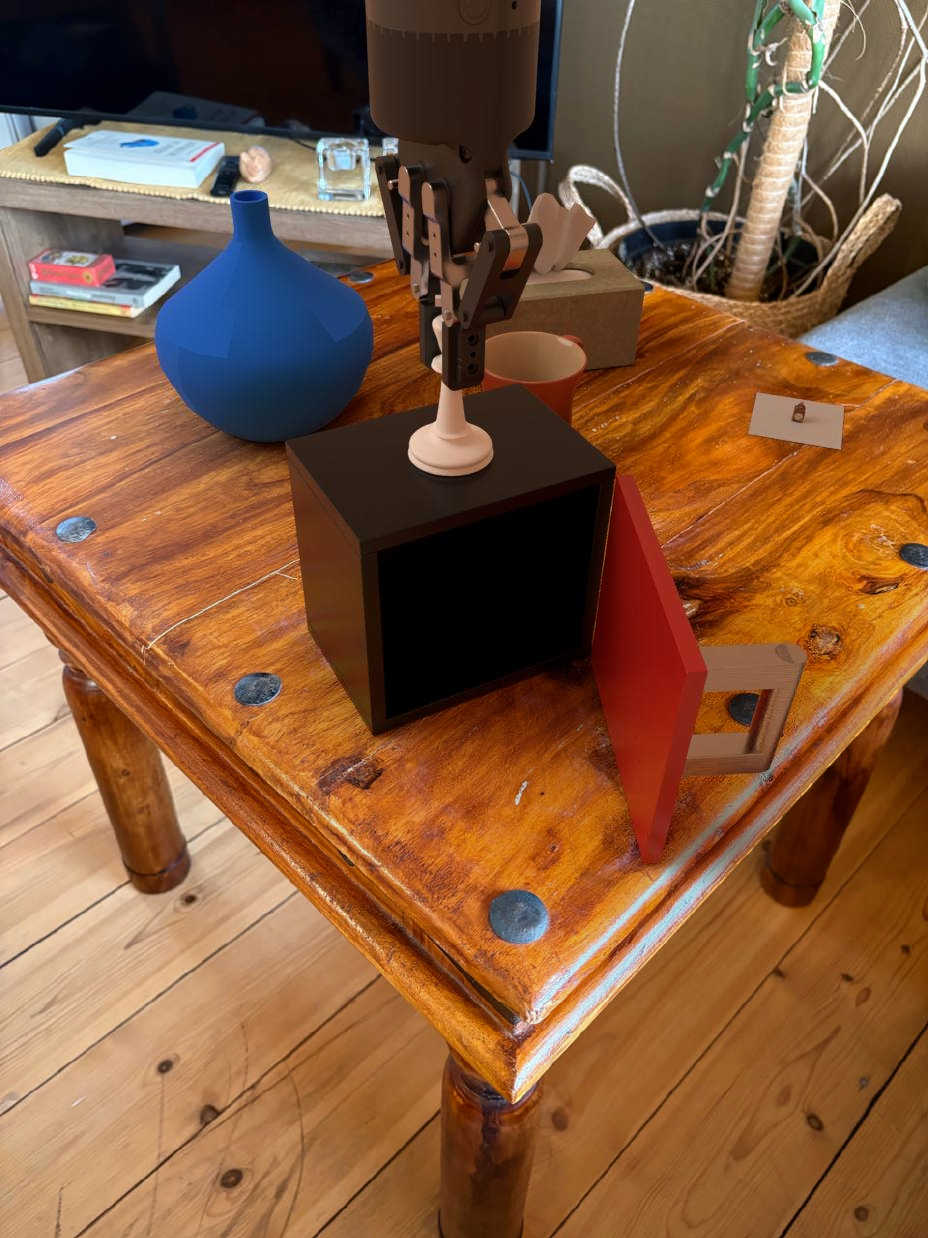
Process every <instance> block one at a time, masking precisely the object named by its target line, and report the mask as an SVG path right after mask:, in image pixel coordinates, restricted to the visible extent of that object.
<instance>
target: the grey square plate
mask: <svg viewBox="0 0 928 1238" xmlns="http://www.w3.org/2000/svg"><path fill="white" fill-rule="evenodd" d="M844 413H845V406H844V405H837V404H833V403H826V402H820V401H813V400H808V399H801V398H795V397H789V396H783V395H775V394H769V393H764V392H758V391H756V395H755V399H754V405H753V410H752V414H751V419H750V423H749V427H748V428H749V429H748V433H747V435H752V436H758V437H764V438H770V439H775V440H781V441H788V442H793V443H798V444H804V445H811V446H816V447H823V448H827V449H828V448H829V449H833V450H840V451H842V444H843V443H842V442H843V431H844V430H843V428H844Z"/></svg>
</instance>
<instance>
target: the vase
mask: <svg viewBox="0 0 928 1238" xmlns="http://www.w3.org/2000/svg"><path fill="white" fill-rule="evenodd" d="M229 203H230V211H231V217H232V218H231V219H232V225H233V231H232V238H231V239H230V241H229V242H228V244H227V246H226V248H225V249H224V250H223V251H222V252H221V253H219V254H218V255H217V256H216V257H215V258H214V259H213V260H212V261H211V262H210V263H208V264H207V266H206V267H204V268H203V269H202V270H201V271H200V272H199V273H198V274H197V275H196V276H194V278H192V279H191V280H190V281H189V282H188V283H187V284H185V285H184V286H182V287H181V289H179V290H178V291H177V292H176V293H174V294H172V295H171V297H169V299H167V300H166V301H165V302H164V303H163V305H162V306H161V308H160V310H159V312H158V313H157V317H156V322H155V328H154V346H155V350H156V354H157V358H158V363H159V367H160V368H161V370H162V372H163V373H164V375H165V377H166V378H167V380H168V381H169V383H170V384H171V386H172V387H173V388H174V390H175V391H176V392H177V394H178V396H179V397H180V398H181V400H182V401H183V403H184V404H185V406H186V407H187V408H188V409H190V410H191V411H193V412H194V413H195V414H196V415H198V417H201V419H203V420H204V421H205V422H207V423H208V424H209V425H211V426H212V427H213V428H215V429H216V430H219V431H221V432H223V433H227V434H229V435H232V436H234V437H236V438H238V439H241V440H246V441H251V442H257V443H280V442H285V441H286V440H290V439H294V438H298V437H302V436H307V435H311V434H315V433H317V432H318V431H319V430H320V429H322V428H323V427H325V426H327V425H328V424H329V423H331V422H332V421H334V420H336V419H337V418H338V417H340V415H341V414H342V412H343V411H344V410H345V408H346V407H347V406H348V405H349V404H350V402H351V401H352V400H353V399H354V397H355V396H356V395H357V393H358V392H360V389H361V387H362V384H363V381H364V379H365V376H366V373H367V372H368V369H369V366H370V363H371V360H372V356H373V352H374V348H375V342H374V341H375V339H374V323H373V320H372V317H371V314H370V312H369V309H368V307H367V304H366V302H365V300H364V298H363V296H362V295H360V294H359V293H358V292H357V291H356V290H355V289H354V288H353V287H352V286H350V285H348V284H346V283H345V282H344V281H342V280H340V279H339V278H336V277H334V276H333V275H331V274H330V273H328V272H326V271H324V270H323V269H322V268H320V267H318V266H316V265H314V264H313V263H311V262H310V261H308V259H305V258H304V257H303V256H301V255H300V254H299V253H297V252H295V251H293V250H292V249H291V248H289V247H288V246H286V245H284V244H283V242H282V241H281V240H280V239H279V238H278V237H277V236H276V235H275V234H274V230H273V228H272V222H271V213H270V204H269V196H268V193H267V192H265V191H263V190H257V189H243V190H238V191H235V192H233V193H231V194H230V195H229Z"/></svg>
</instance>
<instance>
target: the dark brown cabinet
mask: <svg viewBox="0 0 928 1238" xmlns="http://www.w3.org/2000/svg"><path fill="white" fill-rule="evenodd" d="M462 400H463V408H464V415H465V421H466V422H468V423H469V424H472V425H475V426H477V427H479V428H481V429H482V430H484V431H485V432H486V433H487V434H488V435H489V436H490V438H491V440H492V448H493V458H492V460H491V461H490V463H489V464H488V465H487V466H486V467H484V468H483V469H481V470H479V471H477V472H474V473H471V474H467V475H461V476H441V475H435V474H431V473H428V472H425V471H423V470H421V469H419V468H418V467H416V466H415V465H414V464H413V463H412V462H411V460H410V459H409V456H408V449H409V441H410V438H411V437H412V435H413V434H414V433H415V432H416V431H417V430H419V429H420V428H422V427H424V426H426V425H429V424H432V423H434V422H435V421H436V420H437V414H438V407H439V402H435V403H431V404H427V405H424V406H420V407H416V408H411V409H407V410H404V411H400V412H395V413H392V414H387V415H383V416H379V417H374V418H372V419H366V420H363V421H359V422H356V423H355V422H354V423H351V424H347V425H344V426H339V427H335V428H332V429H327V430H323V431H318V432H314V433H311V434H309V435H307V436H302V437H298V438H294V439H290V440H286V441H284V442H285V451H286V455H287V456H286V458H287V467H288V474H289V483H290V493H291V500H292V508H293V509H292V510H293V517H294V526H295V532H296V533H295V534H296V541H297V549H298V557H299V558H298V559H299V566H300V574H301V575H300V576H301V583H302V592H303V600H304V608H305V616H306V624H307V631H309V632H308V633H309V634H310V636H311V637H312V639H313V641H314V642H315V644H316V645H317V647H318V648H319V650H320V652H321V654H322V655H323V657H324V658H325V660H326V662H327V663H328V666H329V667H330V668H331V670H332V672H333V673H334V676H336V678H337V680H338V681H339V683H340V685H341V687H342V688H343V689H344V691H345V693H346V694H347V696H348V697H349V699H350V701H351V703H352V704H353V706H354V708H355V710H356V711H357V712H358V714H359V717H360V718H361V719H362V720H363V722H364V725H366V728H367V729H368V731H369V733H370V734H371V736H373V737H375V736H378V735H381V734H383V733H386V732H389V731H392V730H394V729H397V728H400V727H402V726H405V725H407V724H410V723H413V722H416V721H418V720H421V719H423V718H427V717H430V716H432V715H435V714H437V713H440V712H442V711H445V710H448V709H450V708H452V707H456V706H459V705H461V704H464V703H467V702H469V701H471V700H475V699H477V698H479V697H482V696H485V695H487V694H491V693H493V692H496V691H498V690H501V689H504V688H507V687H509V686H511V685H514V684H517V683H519V682H522V681H525V680H528V679H530V678H533V677H536V676H539V675H541V674H544V673H546V672H549V671H552V670H555V669H557V668H559V667H560V668H561V667H562V666H565V665H568V664H570V663H572V662H573V663H574V662H576V661H579V660H581V659H584V658H586V657H589V656H591V653H592V646H593V639H594V632H595V625H596V617H597V610H598V603H599V596H600V589H601V581H602V574H603V567H604V560H605V553H606V545H607V538H608V531H609V524H610V517H611V509H612V502H613V495H614V488H615V481H616V475H617V468H618V465H617V464H616V463H615V462H613V461H612V460H611V459H610V458H609V457H608V456H607V455H605V454H604V453H603V452H602V451H601V450H600V449H598V447H596V446H595V445H594V444H592V443H591V442H590V441H589V440H588V439H587V438H585V437H584V436H583V435H582V434H581V433H580V432H578V430H576V429H575V428H574V427H573V426H572V427H571V426H570V425H569V424H568V423H567V422H566V421H564V420H563V419H562V418H561V417H560V416H559V415H557V414H556V413H555V412H554V411H553V410H552V409H550V408H549V407H548V406H547V405H546V404H545V403H543V402H542V401H541V400H540V399H539V398H538V397H537V396H535V395H534V394H533V393H532V392H531V391H530V390H528V389H527V388H526V387H525V386H524V385H523V384H521V383H515V384H511V385H507V386H503V387H499V388H495V389H491V390H487V391H479V392H475V393H472V394H468V395H464V396H463V395H462Z"/></svg>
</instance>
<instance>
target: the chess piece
mask: <svg viewBox="0 0 928 1238" xmlns="http://www.w3.org/2000/svg"><path fill="white" fill-rule="evenodd" d="M462 297H463V295H460V299H462ZM435 307H441V295H435ZM443 321H444V320H443V317H442V314H441V315H439V316H437V317H436V318H435V319H434V320H433V322H432V325H433V329H434V332H435V335H436V337H437V340H438V344H439V347H440V350H441V352H442V322H443ZM432 368H433V371H435V372H436V373H438V374H440V375H442V354H439V355H437V356H436V357H434V359H433V362H432ZM462 397H463V392H462V390H458V391H451V390H450V389H449V388H448V387H447V386H446V385H445V384H444V383H443V382H442V381H441V384H440V393H439V402H438V403H439V407H438V414H437V420H436V421H435V422H434V423H432V424H429V425H426V426H424V427H422V428H420V429H419V430H417V431H416V432H415V433H414V434H413V435H412V437H411V438H410V441H409V449H408V456H409V459H410V460H411V462H412V463H413V464H414V465H415V466H416V467H418V468H419V469H421V470H423V471H425V472H428V473H431V474H435V475H441V476H461V475H467V474H471V473H474V472H477V471H479V470H481V469H483V468H484V467H486V466H487V465H488V464H489V463H490V461H491V460H492V458H493V448H492V440H491V438H490V436H489V435H488V434H487V433H486V432H485V431H484V430H482V429H481V428H479V427H477V426H475V425H472V424H469V423H468V422H466V421H465V415H464V408H463V400H462Z"/></svg>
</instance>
